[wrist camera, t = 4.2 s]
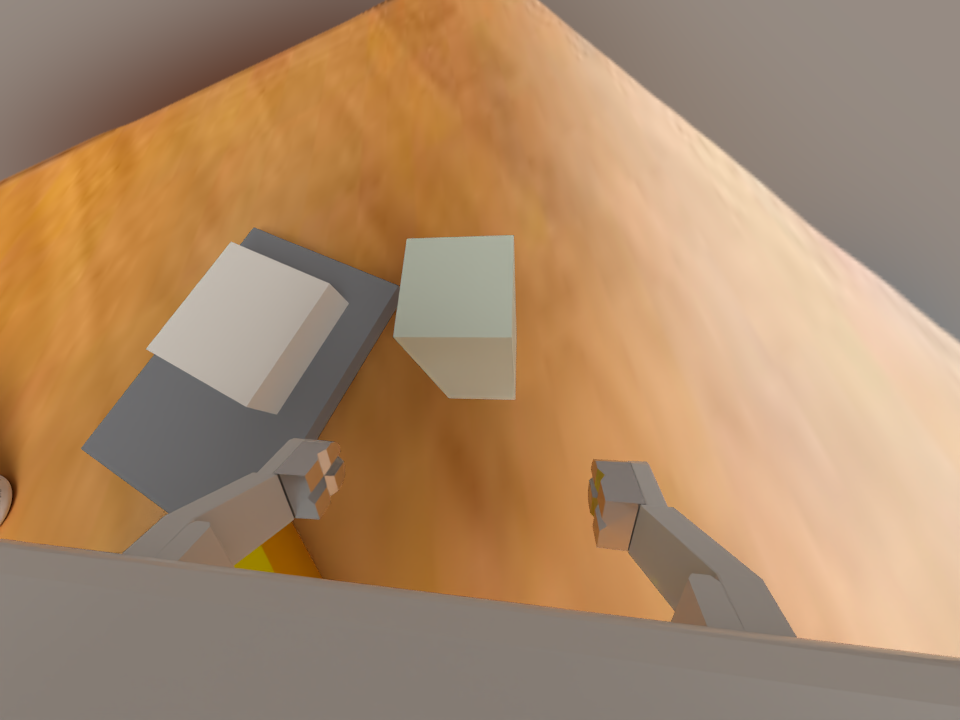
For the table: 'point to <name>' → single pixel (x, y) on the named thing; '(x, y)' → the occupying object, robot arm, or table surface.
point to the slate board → (218, 427)
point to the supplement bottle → (4, 497)
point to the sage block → (461, 314)
